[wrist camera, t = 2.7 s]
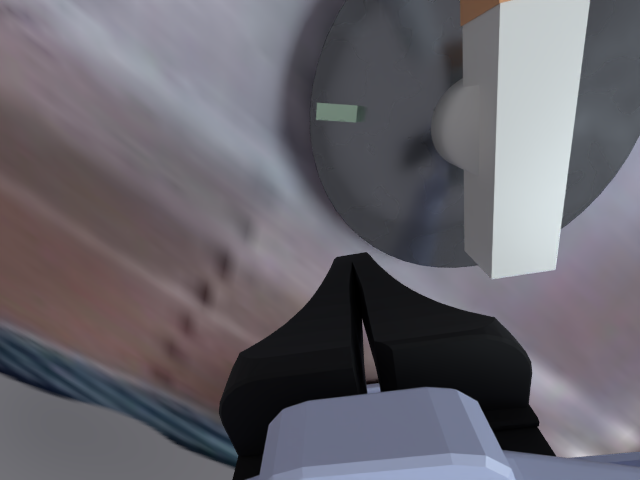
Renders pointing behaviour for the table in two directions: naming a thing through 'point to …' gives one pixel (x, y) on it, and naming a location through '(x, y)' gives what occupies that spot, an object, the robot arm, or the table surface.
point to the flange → (417, 111)
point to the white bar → (514, 127)
